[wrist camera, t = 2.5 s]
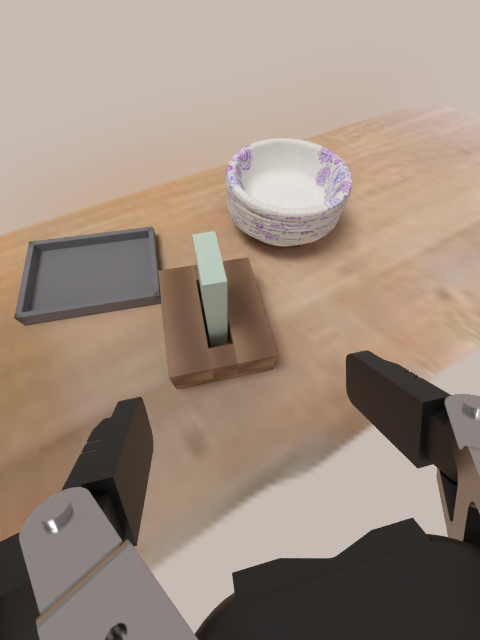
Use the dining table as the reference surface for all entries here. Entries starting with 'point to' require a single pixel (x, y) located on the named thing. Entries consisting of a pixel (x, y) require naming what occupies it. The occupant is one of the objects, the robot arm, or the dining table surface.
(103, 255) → the charcoal tray
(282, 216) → the paper bowls
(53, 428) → the dining table surface
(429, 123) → the dining table surface
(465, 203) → the dining table surface
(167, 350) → the walnut slotted block
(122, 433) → the robot arm
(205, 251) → the pale green rectangular block
